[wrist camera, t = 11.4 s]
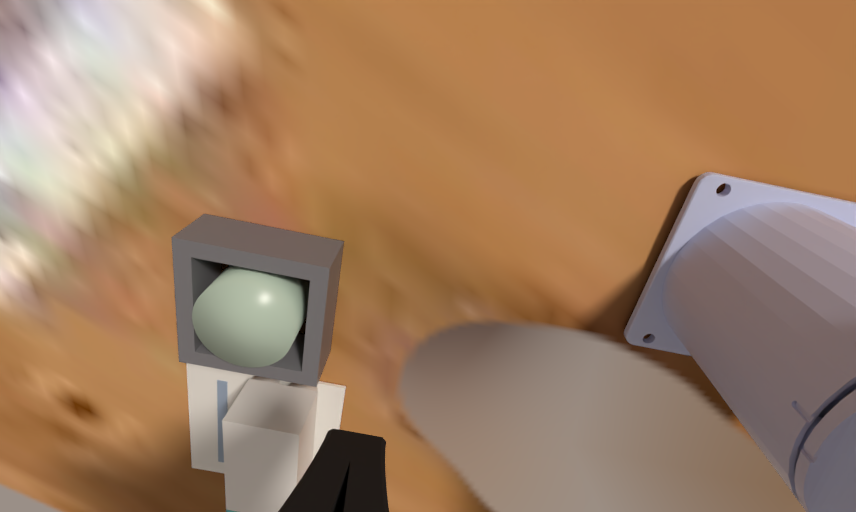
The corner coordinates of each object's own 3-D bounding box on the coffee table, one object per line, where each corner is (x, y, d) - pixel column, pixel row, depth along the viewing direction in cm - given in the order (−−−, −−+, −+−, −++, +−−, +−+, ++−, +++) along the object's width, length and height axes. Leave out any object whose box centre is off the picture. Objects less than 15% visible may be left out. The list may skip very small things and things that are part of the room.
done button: (317, 258, 20) (296, 294, 17) (310, 332, 22) (290, 375, 19) (226, 240, 20) (190, 273, 17) (226, 316, 22) (193, 357, 19)
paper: (346, 386, 23) (345, 389, 23) (330, 489, 27) (329, 492, 26) (187, 356, 23) (185, 359, 23) (193, 465, 26) (191, 468, 26)
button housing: (343, 241, 20) (329, 268, 17) (330, 351, 22) (316, 387, 20) (204, 213, 19) (171, 237, 17) (207, 328, 22) (179, 361, 20)
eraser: (255, 369, 23) (222, 420, 20) (322, 381, 23) (299, 435, 20) (255, 477, 26) (227, 534, 23) (313, 487, 26) (292, 547, 23)
